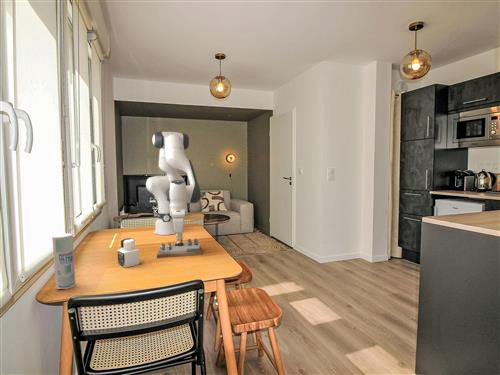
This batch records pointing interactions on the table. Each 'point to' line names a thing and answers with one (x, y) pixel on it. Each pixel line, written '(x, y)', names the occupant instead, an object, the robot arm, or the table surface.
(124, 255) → the medicine bottle
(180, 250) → the chain end left
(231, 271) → the table surface
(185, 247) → the chain end right
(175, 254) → the chain base
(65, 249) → the spray can
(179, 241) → the pin
